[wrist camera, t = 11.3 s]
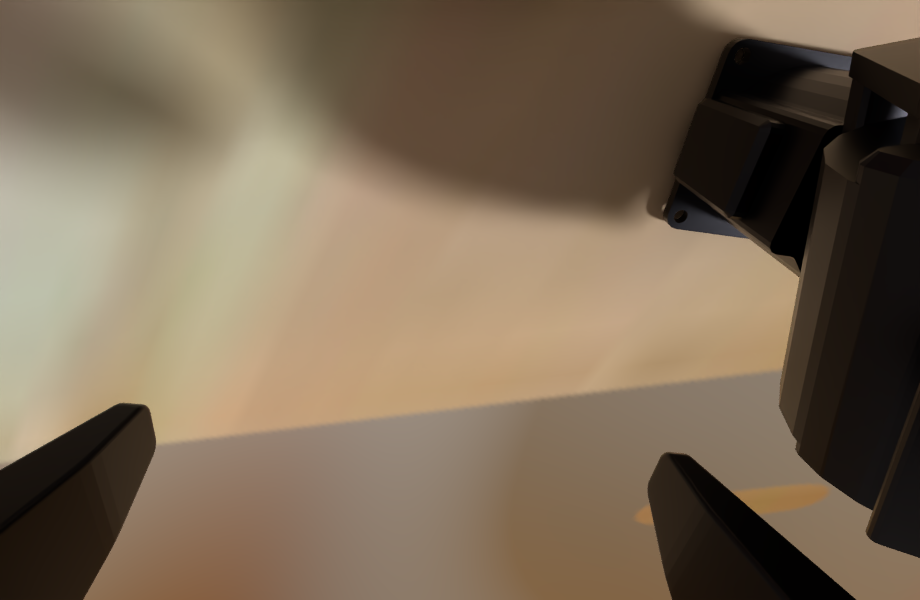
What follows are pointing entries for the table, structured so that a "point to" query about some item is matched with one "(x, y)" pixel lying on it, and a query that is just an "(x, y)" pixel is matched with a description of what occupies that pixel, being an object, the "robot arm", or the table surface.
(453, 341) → the table surface
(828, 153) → the robot arm
